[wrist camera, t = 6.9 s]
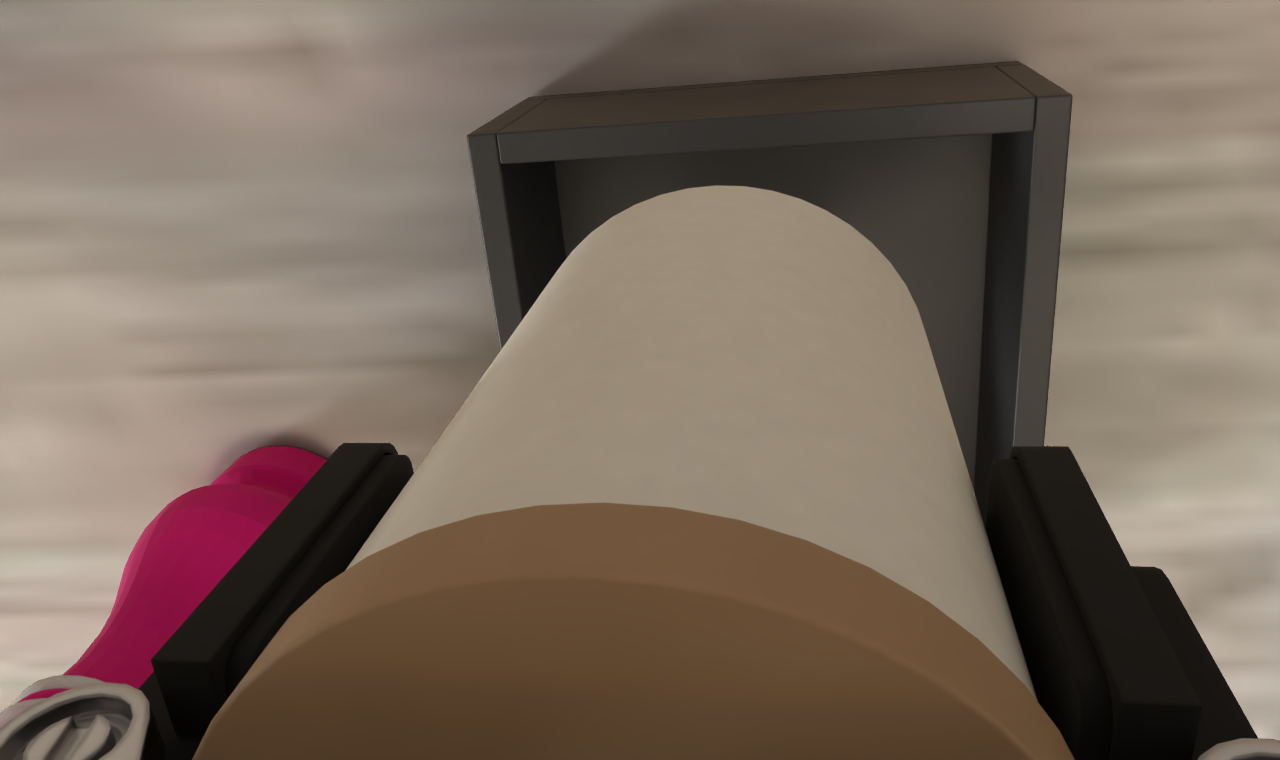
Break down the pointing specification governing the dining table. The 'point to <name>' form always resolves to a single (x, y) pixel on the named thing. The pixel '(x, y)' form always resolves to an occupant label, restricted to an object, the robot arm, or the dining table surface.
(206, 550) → the pepper mill
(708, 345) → the canister
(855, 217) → the dark grey open box
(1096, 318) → the dining table surface
